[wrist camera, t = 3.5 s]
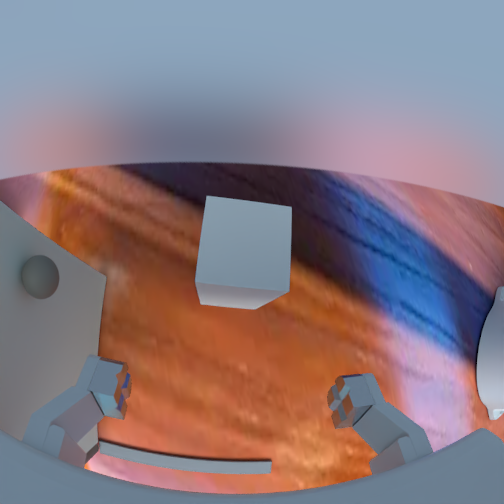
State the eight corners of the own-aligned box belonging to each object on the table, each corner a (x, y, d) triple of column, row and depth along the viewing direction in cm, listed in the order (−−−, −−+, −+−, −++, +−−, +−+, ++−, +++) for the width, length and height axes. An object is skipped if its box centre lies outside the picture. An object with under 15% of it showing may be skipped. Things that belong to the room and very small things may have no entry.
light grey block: (258, 257, 21) (291, 207, 13) (254, 309, 20) (289, 291, 12) (206, 252, 21) (206, 195, 12) (200, 304, 20) (194, 282, 11)
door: (74, 271, 18) (-38, 198, 6) (128, 280, 19) (30, 200, 6) (67, 443, 14) (-26, 504, 2) (119, 459, 14) (51, 555, 2)
